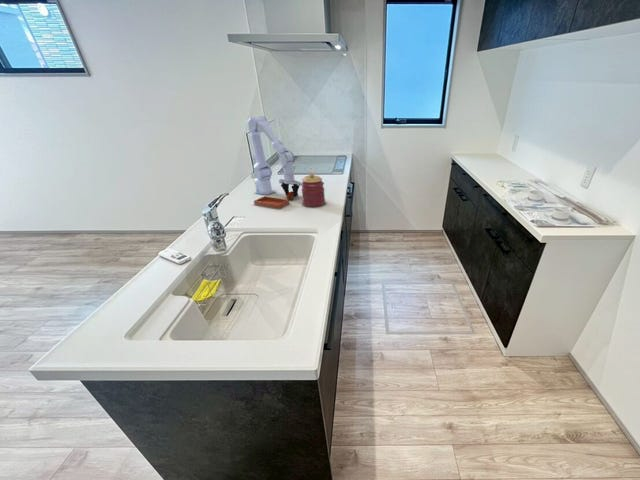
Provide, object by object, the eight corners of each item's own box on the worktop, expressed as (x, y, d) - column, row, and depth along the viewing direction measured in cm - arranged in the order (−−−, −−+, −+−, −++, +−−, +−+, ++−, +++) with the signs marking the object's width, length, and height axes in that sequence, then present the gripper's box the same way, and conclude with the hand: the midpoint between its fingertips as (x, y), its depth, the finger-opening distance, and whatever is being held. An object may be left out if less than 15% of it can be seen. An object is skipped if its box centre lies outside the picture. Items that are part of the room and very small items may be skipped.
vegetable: (294, 195, 185) (299, 192, 196) (285, 192, 184) (291, 188, 195) (292, 202, 187) (297, 198, 198) (283, 199, 186) (289, 195, 197)
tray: (254, 204, 182) (253, 200, 180) (265, 199, 189) (264, 196, 188) (279, 209, 176) (278, 204, 174) (289, 203, 183) (288, 199, 182)
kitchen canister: (298, 205, 180) (295, 174, 171) (310, 199, 190) (307, 169, 181) (318, 208, 176) (316, 176, 167) (329, 201, 187) (327, 171, 177)
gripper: (274, 173, 183) (277, 196, 190) (294, 176, 178) (297, 199, 186) (281, 171, 189) (284, 193, 196) (302, 173, 184) (304, 196, 191)
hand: (291, 196), depth 191 cm, fingers closed on vegetable, 5 cm apart
